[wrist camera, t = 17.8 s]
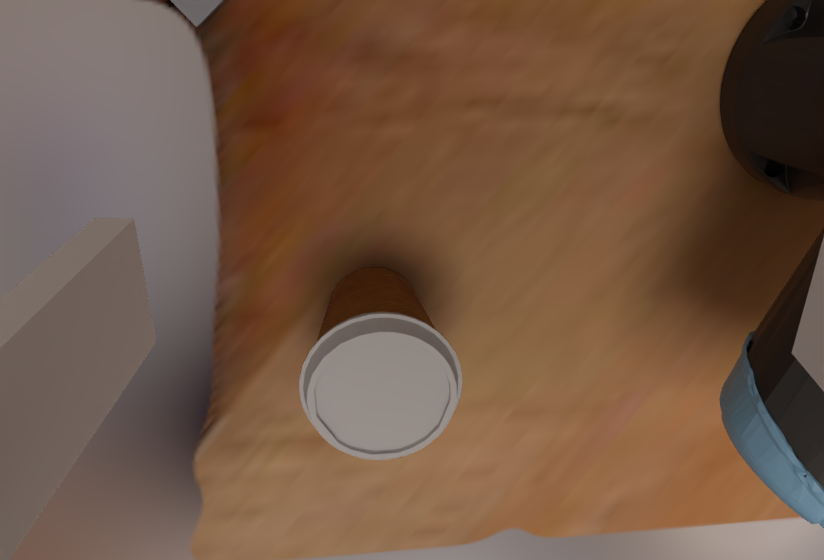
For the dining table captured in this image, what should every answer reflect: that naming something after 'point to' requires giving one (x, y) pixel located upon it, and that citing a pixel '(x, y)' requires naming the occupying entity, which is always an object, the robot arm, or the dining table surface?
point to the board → (197, 9)
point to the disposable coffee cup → (379, 370)
